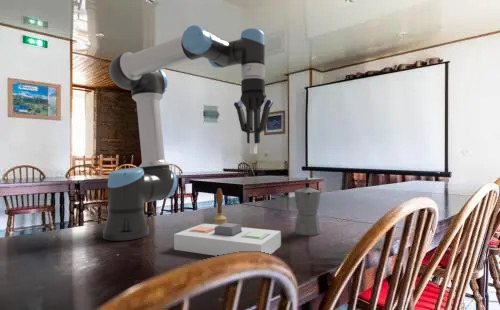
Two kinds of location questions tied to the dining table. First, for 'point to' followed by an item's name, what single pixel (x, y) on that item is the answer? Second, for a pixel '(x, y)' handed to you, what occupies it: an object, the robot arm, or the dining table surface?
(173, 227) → the dining table surface
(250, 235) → the sage key
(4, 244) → the dining table surface
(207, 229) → the terracotta key
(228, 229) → the charcoal key
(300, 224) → the coffeepot
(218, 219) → the hand bell
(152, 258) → the dining table surface
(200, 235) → the white button panel
